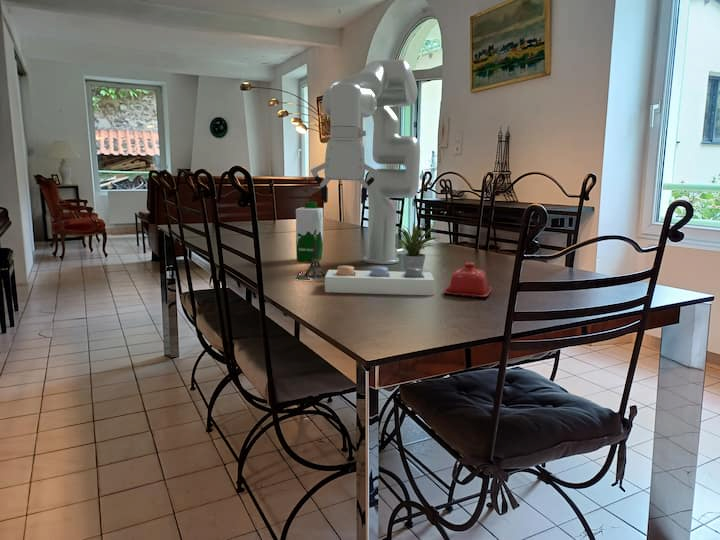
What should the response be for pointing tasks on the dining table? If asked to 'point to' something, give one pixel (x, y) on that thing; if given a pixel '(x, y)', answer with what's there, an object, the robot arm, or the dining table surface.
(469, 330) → the dining table surface
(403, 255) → the house plant
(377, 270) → the slate blue button
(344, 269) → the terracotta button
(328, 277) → the white button panel
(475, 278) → the butter dish
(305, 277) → the eiffel tower figurine
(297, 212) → the milk carton
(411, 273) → the charcoal button
